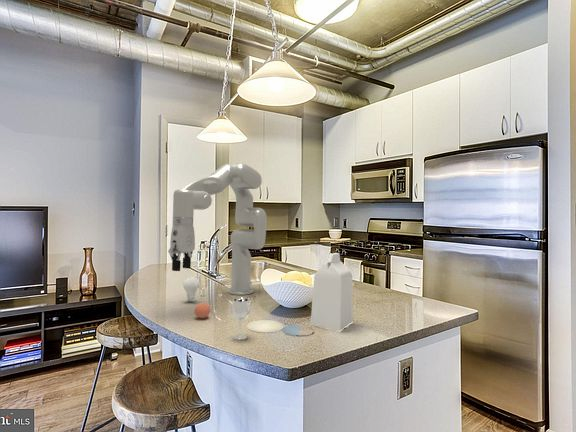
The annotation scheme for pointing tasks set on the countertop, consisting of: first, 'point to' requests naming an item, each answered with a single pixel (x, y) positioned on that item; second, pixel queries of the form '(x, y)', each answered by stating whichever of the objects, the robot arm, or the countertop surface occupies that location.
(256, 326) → the disc
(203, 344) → the countertop surface
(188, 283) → the light bulb
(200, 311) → the ball
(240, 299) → the wineglass
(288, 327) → the disc
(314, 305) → the milk
